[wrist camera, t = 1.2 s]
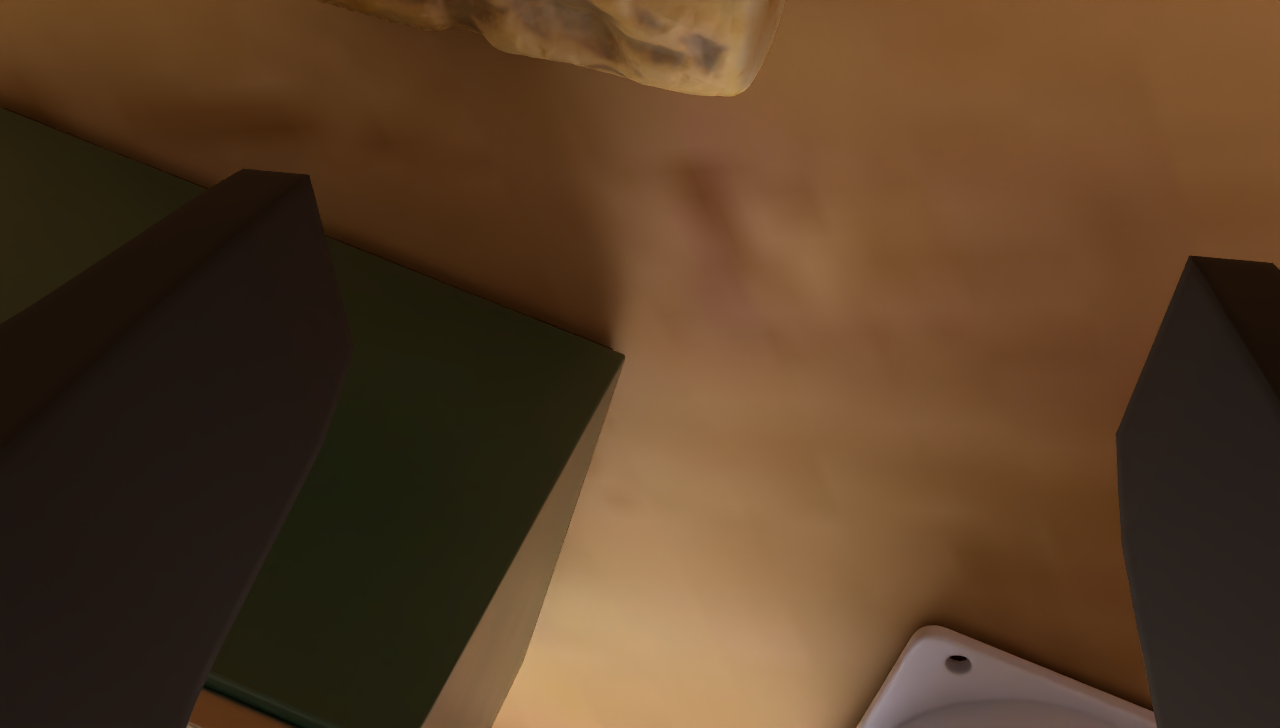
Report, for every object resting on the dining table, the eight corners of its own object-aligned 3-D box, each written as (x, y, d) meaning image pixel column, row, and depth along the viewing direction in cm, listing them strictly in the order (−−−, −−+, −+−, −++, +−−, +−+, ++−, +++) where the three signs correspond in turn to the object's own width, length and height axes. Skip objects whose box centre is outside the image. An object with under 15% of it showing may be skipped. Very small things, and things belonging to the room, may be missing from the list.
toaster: (633, 341, 22) (378, 804, 13) (530, 645, 27) (292, 1141, 18) (-101, 52, 23) (-823, 285, 14) (-73, 394, 28) (-594, 736, 19)
